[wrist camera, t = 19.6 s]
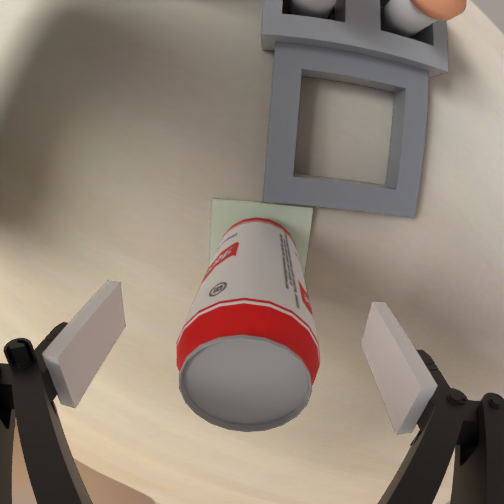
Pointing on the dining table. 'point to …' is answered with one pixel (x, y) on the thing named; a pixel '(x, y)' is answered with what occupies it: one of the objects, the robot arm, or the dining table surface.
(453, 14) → the ball
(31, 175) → the dining table surface
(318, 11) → the plunger inner
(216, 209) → the coaster
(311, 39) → the grey rack with holes
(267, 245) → the beer can
